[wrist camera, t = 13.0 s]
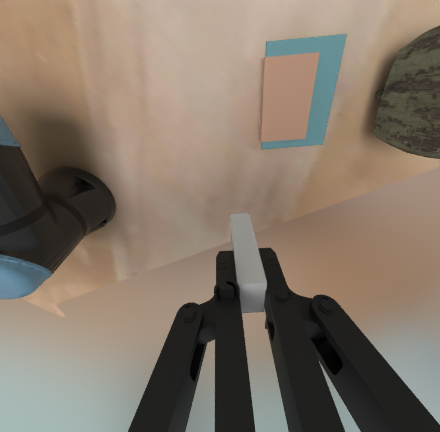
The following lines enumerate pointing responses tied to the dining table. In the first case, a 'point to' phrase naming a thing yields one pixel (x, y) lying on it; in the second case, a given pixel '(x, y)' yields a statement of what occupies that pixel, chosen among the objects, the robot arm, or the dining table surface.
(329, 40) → the felt mat
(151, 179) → the dining table surface
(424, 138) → the tabletop clock
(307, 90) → the tile
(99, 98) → the dining table surface
